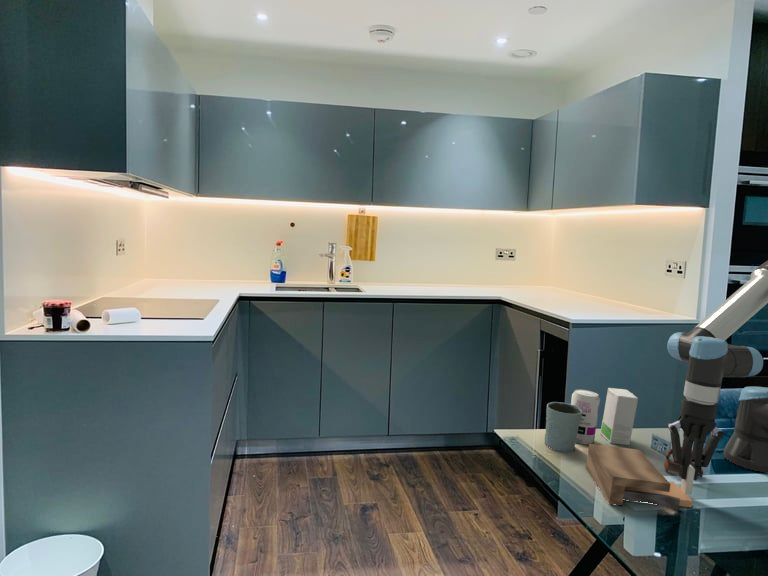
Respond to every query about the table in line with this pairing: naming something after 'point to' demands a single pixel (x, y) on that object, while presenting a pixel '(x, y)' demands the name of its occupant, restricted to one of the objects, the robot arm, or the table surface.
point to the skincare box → (619, 416)
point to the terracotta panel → (669, 493)
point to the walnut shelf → (627, 476)
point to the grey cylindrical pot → (562, 426)
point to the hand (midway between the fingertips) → (685, 491)
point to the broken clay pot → (675, 464)
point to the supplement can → (586, 414)
